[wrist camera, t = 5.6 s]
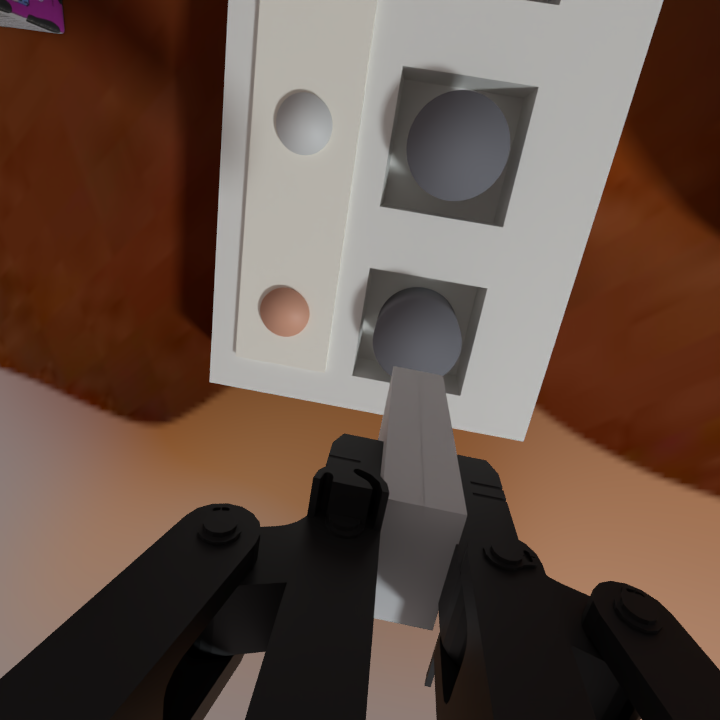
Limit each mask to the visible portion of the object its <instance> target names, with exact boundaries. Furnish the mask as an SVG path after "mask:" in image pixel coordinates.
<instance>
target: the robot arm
mask: <svg viewBox="0 0 720 720" xmlns="http://www.w3.org/2000/svg"><path fill="white" fill-rule="evenodd" d="M438 610H439V624H440V633H439V636H438V639H437V642H436V646H435V650H434V652H433V655H432V659H431V662H430V665H429V668H428V672H427V675H426V680H425V686H428V687H431V684H432V680H433V678H434V675H435V692H436V693H435V694H436V715H437V720H640V719H642V720H720V670H719V669H718V668H717V666H716V665H715V664H714V663H713V662H712V661H711V659H710V658H709V657H708V656H707V655H706V654H705V652H704V651H703V650H702V649H701V648H700V647H699V646H698V644H697V643H696V642H695V641H694V640H693V638H692V637H691V636H690V635H689V634H688V633H687V631H686V630H685V629H684V628H683V627H682V625H681V624H680V623H679V622H678V621H677V620H676V618H675V617H674V616H673V615H672V614H671V613H670V612H669V611H668V610H667V609H666V608H665V607H664V606H663V605H662V604H661V603H660V602H658V601H657V600H656V599H654V598H653V597H651V596H649V595H648V594H646V593H645V592H643V591H642V590H640V589H637V588H635V587H632V586H630V585H628V584H625V583H619V582H614V581H608V582H602V583H599V584H598V585H597V586H596V587H595V588H594V589H593V591H592V594H591V596H588V595H586V594H584V593H581V592H579V591H577V590H575V589H572V588H570V587H568V586H565V585H563V584H561V583H559V582H557V581H555V580H553V579H552V578H550V577H548V576H547V575H546V574H545V571H544V568H543V565H542V563H541V562H540V560H539V558H538V556H537V555H536V553H535V552H534V551H533V550H531V549H530V548H529V547H528V546H527V545H526V544H525V543H523V542H521V541H520V540H518V537H517V533H516V530H515V527H514V524H513V521H512V517H511V514H510V511H509V508H508V504H507V502H506V498H505V495H504V491H503V490H502V485H501V482H500V478H499V475H498V473H497V472H496V471H495V470H494V469H493V468H492V467H491V465H490V464H489V463H488V462H487V461H486V460H481V459H476V458H471V457H466V456H461V455H457V454H456V448H455V442H454V436H453V431H452V425H451V419H450V414H449V408H448V402H447V397H446V391H445V385H444V380H443V376H442V375H437V374H432V373H427V372H422V371H416V370H411V369H406V368H401V367H396V366H394V367H393V371H392V376H391V381H390V386H389V390H388V395H387V400H386V405H385V410H384V414H383V419H382V424H381V429H380V433H379V438H378V440H373V439H369V438H364V437H359V436H354V435H349V434H343V435H342V436H340V437H339V438H338V439H337V440H335V441H334V442H333V444H332V447H331V450H330V453H329V457H328V460H327V464H326V467H324V468H322V469H320V470H318V472H317V473H316V475H315V476H314V477H313V483H312V489H311V495H310V502H309V508H308V514H307V516H306V517H304V518H303V519H301V520H299V521H297V522H295V523H292V524H288V525H282V526H271V527H260V523H259V521H258V520H257V518H256V517H255V516H254V514H253V513H251V512H250V511H248V510H246V509H245V508H243V507H240V506H236V505H232V504H211V505H207V506H203V507H200V508H197V509H195V510H194V511H192V512H191V513H189V514H187V515H186V516H185V517H183V518H182V519H181V520H180V521H179V522H178V523H177V524H176V525H174V526H173V527H172V528H171V529H170V530H169V531H168V532H166V533H165V534H164V535H163V536H162V537H161V538H160V539H159V540H157V541H156V542H155V543H154V544H153V545H152V546H151V547H149V548H148V549H147V550H146V551H145V552H144V553H143V554H142V555H140V556H139V557H138V558H137V559H136V560H135V561H134V562H132V563H131V564H130V565H129V566H128V567H127V568H126V569H125V570H124V571H122V572H121V573H120V574H119V575H118V576H117V577H115V578H114V579H113V580H112V581H111V582H110V583H109V584H107V585H106V586H105V587H104V588H103V589H102V590H101V591H100V592H98V593H97V594H96V595H95V596H94V597H93V598H92V599H90V600H89V601H88V602H87V603H86V604H85V605H84V606H82V607H81V608H80V609H79V610H78V611H77V612H76V613H75V614H73V616H71V617H70V618H69V619H68V620H67V621H65V622H64V623H63V624H62V625H61V626H60V627H59V628H58V629H56V630H55V631H54V632H53V633H52V634H51V635H50V636H48V637H47V638H46V639H45V640H44V641H43V642H42V643H41V644H40V645H38V646H37V647H36V648H35V649H34V650H33V651H31V652H30V653H29V654H28V655H27V656H26V657H25V658H24V659H22V660H21V661H20V662H19V663H18V664H17V665H15V666H14V667H13V668H12V669H11V670H10V671H9V672H8V673H6V674H5V675H4V676H3V677H2V678H1V679H0V720H203V719H204V718H205V716H206V714H207V713H208V711H209V710H210V708H211V706H212V705H213V704H214V702H215V701H216V699H217V697H218V696H219V694H220V693H221V691H222V690H223V688H224V687H225V685H226V683H227V682H228V681H229V679H230V677H231V676H232V674H233V673H234V671H235V670H236V668H237V667H238V665H239V664H240V662H241V660H242V658H243V655H244V654H247V653H256V652H265V651H266V652H265V656H264V659H263V662H262V666H261V669H260V672H259V675H258V679H257V682H256V685H255V688H254V692H253V695H252V698H251V701H250V705H249V708H248V712H247V715H246V718H245V720H366V709H367V695H368V684H369V670H370V658H371V646H372V634H373V621H374V618H376V619H381V620H385V621H390V622H395V623H400V624H405V625H409V626H414V627H419V628H423V629H428V630H433V627H434V624H435V620H436V617H437V614H438Z"/></svg>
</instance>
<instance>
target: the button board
mask: <svg viewBox="0 0 720 720" xmlns="http://www.w3.org/2000/svg"><path fill="white" fill-rule="evenodd" d="M662 3H663V0H228V17H227V38H226V58H225V78H224V99H223V119H222V140H221V160H220V181H219V201H218V221H217V242H216V262H215V283H214V303H213V323H212V344H211V364H210V382H212V383H217V384H222V385H228V386H233V387H238V388H244V389H249V390H255V391H259V392H265V393H270V394H276V395H281V396H286V397H291V398H297V399H302V400H307V401H312V402H318V403H323V404H329V405H334V406H339V407H344V408H350V409H355V410H360V411H365V412H371V413H376V414H381V415H383V414H384V410H385V405H386V400H387V395H388V390H389V386H390V381H391V376H390V375H389V374H388V373H387V372H386V371H384V369H383V368H382V367H381V366H380V364H379V363H378V361H377V359H376V357H375V354H374V350H373V334H374V330H375V326H376V322H377V319H378V315H379V312H380V310H381V308H382V306H383V305H384V303H385V302H386V301H387V300H388V299H389V298H390V297H391V296H392V295H393V294H395V293H397V292H398V291H401V290H403V289H406V288H411V287H423V288H428V289H431V290H434V291H436V292H438V293H439V294H441V295H442V296H444V297H445V298H446V299H447V300H448V302H449V303H450V304H451V306H452V308H453V310H454V312H455V315H456V318H457V321H458V325H459V328H460V331H461V337H462V347H461V352H460V355H459V357H458V360H457V362H456V363H455V365H454V366H453V367H452V368H451V370H450V371H449V372H447V373H446V374H445V375H444V376H443V380H444V385H445V391H446V397H447V402H448V408H449V414H450V419H451V425H452V428H455V429H461V430H465V431H471V432H476V433H481V434H487V435H492V436H497V437H503V438H508V439H513V440H518V441H524V438H525V435H526V431H527V429H528V426H529V422H530V419H531V416H532V413H533V410H534V407H535V404H536V400H537V397H538V394H539V391H540V388H541V385H542V382H543V378H544V375H545V372H546V369H547V366H548V363H549V359H550V356H551V353H552V350H553V347H554V344H555V341H556V337H557V334H558V331H559V328H560V325H561V322H562V318H563V315H564V312H565V309H566V306H567V303H568V300H569V296H570V293H571V290H572V287H573V284H574V281H575V278H576V274H577V271H578V268H579V265H580V262H581V259H582V255H583V252H584V249H585V246H586V243H587V240H588V237H589V233H590V230H591V227H592V224H593V221H594V218H595V214H596V211H597V208H598V205H599V202H600V199H601V196H602V192H603V189H604V186H605V183H606V180H607V177H608V174H609V170H610V167H611V164H612V161H613V158H614V155H615V151H616V148H617V145H618V142H619V139H620V136H621V133H622V129H623V126H624V123H625V120H626V117H627V114H628V111H629V107H630V104H631V101H632V98H633V95H634V92H635V88H636V85H637V82H638V79H639V76H640V73H641V70H642V66H643V63H644V60H645V57H646V54H647V51H648V47H649V44H650V41H651V38H652V35H653V32H654V29H655V25H656V22H657V19H658V16H659V13H660V10H661V7H662ZM455 90H470V91H474V92H478V93H480V94H483V95H484V96H486V97H488V98H489V99H491V100H492V101H493V102H494V103H495V104H496V105H497V106H498V107H499V108H500V110H501V111H502V113H503V114H504V116H505V118H506V121H507V124H508V127H509V132H510V151H509V156H508V159H507V163H506V165H505V167H504V170H503V171H502V173H501V175H500V176H499V178H498V179H497V180H496V181H495V183H494V184H493V185H492V186H491V187H490V188H488V189H487V190H486V191H485V192H483V193H481V194H480V195H478V196H476V197H473V198H471V199H467V200H463V201H446V200H442V199H439V198H436V197H434V196H432V195H430V194H429V193H427V192H426V191H425V190H423V189H422V188H421V187H420V186H419V185H418V184H417V182H416V181H415V179H414V178H413V176H412V174H411V171H410V168H409V165H408V161H407V149H406V146H407V139H408V134H409V131H410V128H411V125H412V123H413V121H414V119H415V118H416V116H417V115H418V113H419V112H420V111H421V110H422V108H423V107H424V106H425V105H426V104H427V103H429V102H430V101H431V100H433V99H434V98H435V97H437V96H439V95H441V94H444V93H447V92H450V91H455Z"/></svg>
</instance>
